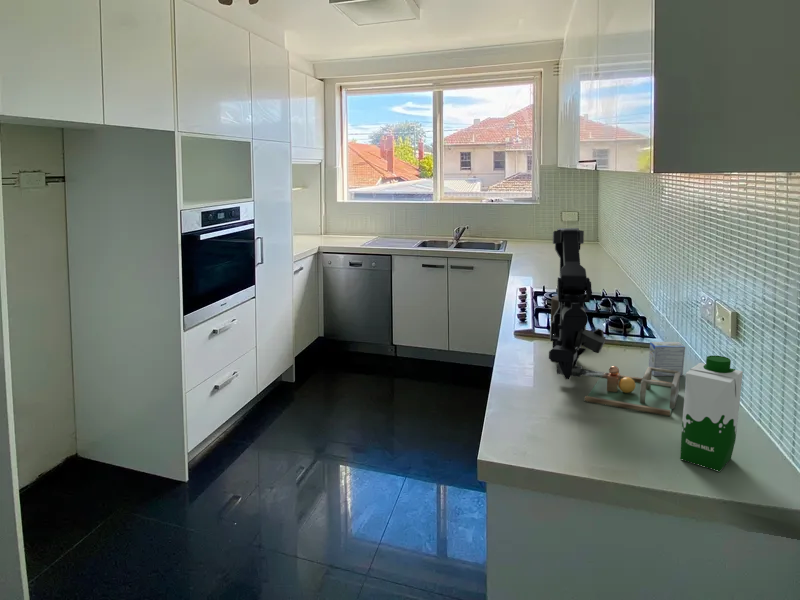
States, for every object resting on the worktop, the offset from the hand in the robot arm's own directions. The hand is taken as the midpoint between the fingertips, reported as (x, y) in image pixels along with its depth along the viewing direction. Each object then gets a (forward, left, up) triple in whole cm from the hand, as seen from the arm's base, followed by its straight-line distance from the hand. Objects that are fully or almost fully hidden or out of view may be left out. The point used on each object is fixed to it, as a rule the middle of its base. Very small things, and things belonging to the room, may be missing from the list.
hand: (569, 377), depth 147 cm
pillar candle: (-13, +44, -2) cm, 46 cm away
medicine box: (+21, +20, -2) cm, 29 cm away
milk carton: (+33, -28, -2) cm, 44 cm away
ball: (+14, 0, 0) cm, 14 cm away
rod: (+5, 0, -2) cm, 5 cm away
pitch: (+16, 0, -2) cm, 16 cm away
